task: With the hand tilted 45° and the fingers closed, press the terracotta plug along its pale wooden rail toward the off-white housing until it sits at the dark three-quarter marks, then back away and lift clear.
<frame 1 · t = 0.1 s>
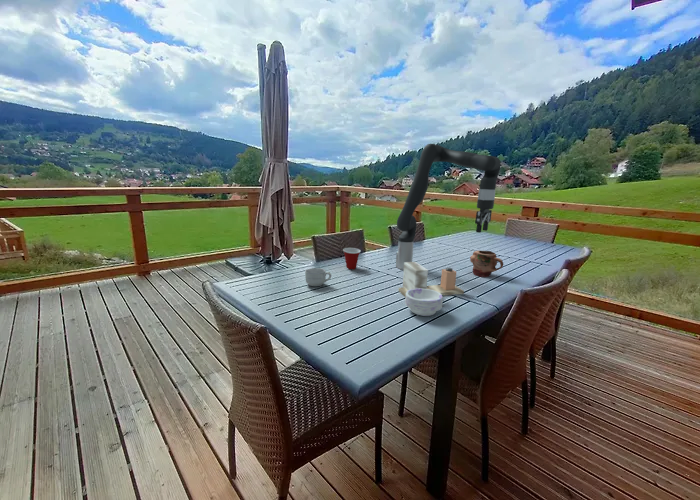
hand: (481, 231, 149), 29 cm above the table, tool pointing down, fingers open, 8 cm apart
white bowl: (422, 311, 126), on the table
plastic cup: (351, 268, 185), on the table
press housing: (430, 292, 147), on the table
brown ceramic mug: (484, 275, 174), on the table
teacup: (318, 285, 155), on the table
plug: (448, 278, 147), point 7 cm above the table, slide at 0.0 cm
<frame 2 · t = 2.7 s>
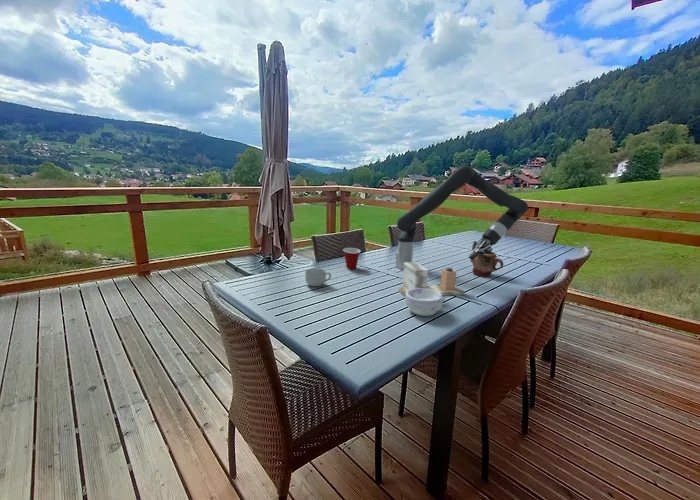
hand: (470, 258, 147), 16 cm above the table, tool tilted 45°, fingers closed
nothing on the table moved.
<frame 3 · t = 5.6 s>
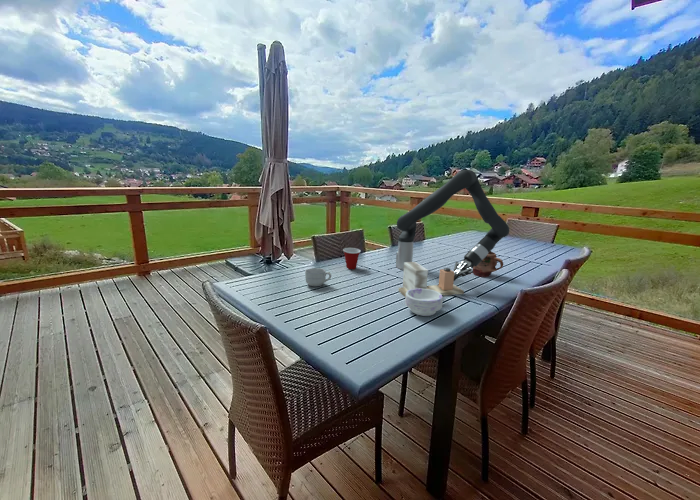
hand: (451, 279, 148), 6 cm above the table, tool tilted 45°, fingers closed
plug: (446, 278, 147), point 7 cm above the table, slide at 1.1 cm, touching gripper
everything else where it was.
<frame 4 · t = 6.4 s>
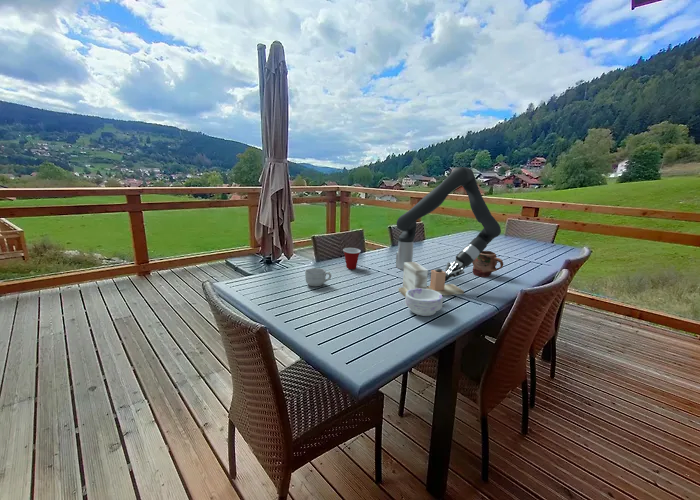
hand: (443, 280, 147), 6 cm above the table, tool tilted 45°, fingers closed
plug: (437, 279, 146), point 7 cm above the table, slide at 5.7 cm, touching gripper
everything else where it was.
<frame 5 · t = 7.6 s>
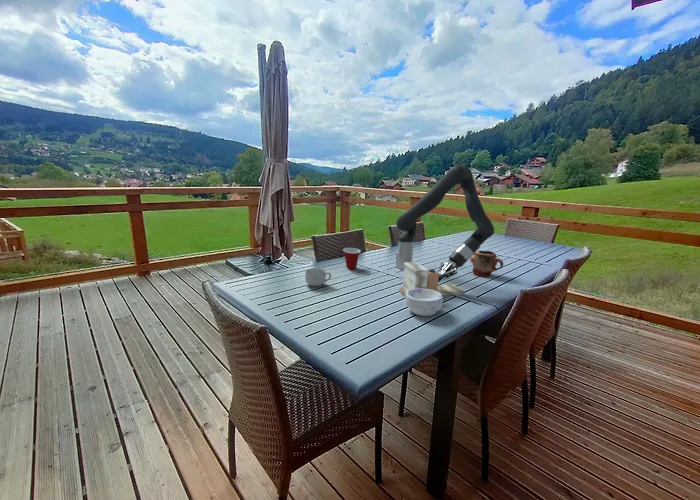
hand: (436, 280, 146), 6 cm above the table, tool tilted 45°, fingers closed
plug: (431, 279, 146), point 7 cm above the table, slide at 9.4 cm, touching gripper
everything else where it was.
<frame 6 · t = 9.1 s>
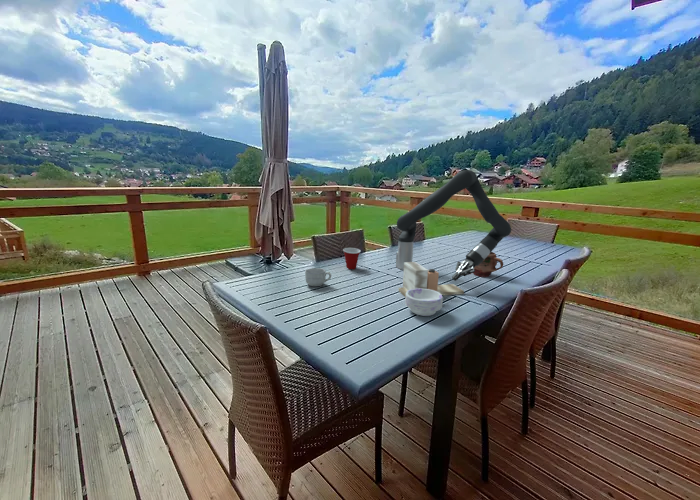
hand: (453, 279, 148), 6 cm above the table, tool tilted 45°, fingers closed
plug: (430, 279, 146), point 7 cm above the table, slide at 9.4 cm
everything else where it was.
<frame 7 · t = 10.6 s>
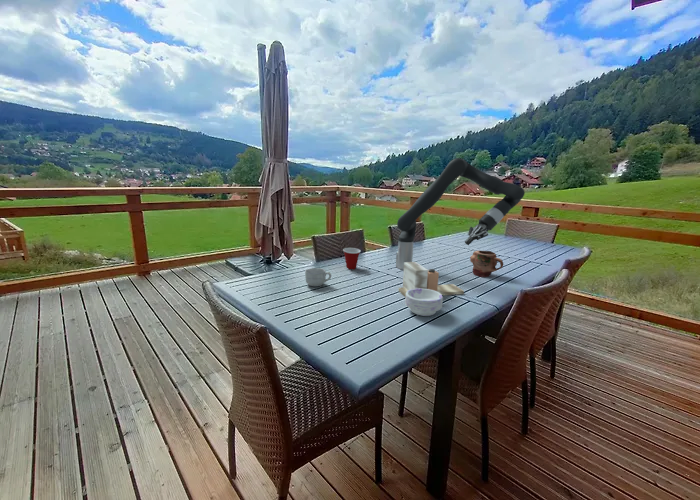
hand: (466, 243, 148), 23 cm above the table, tool tilted 45°, fingers closed
nothing on the table moved.
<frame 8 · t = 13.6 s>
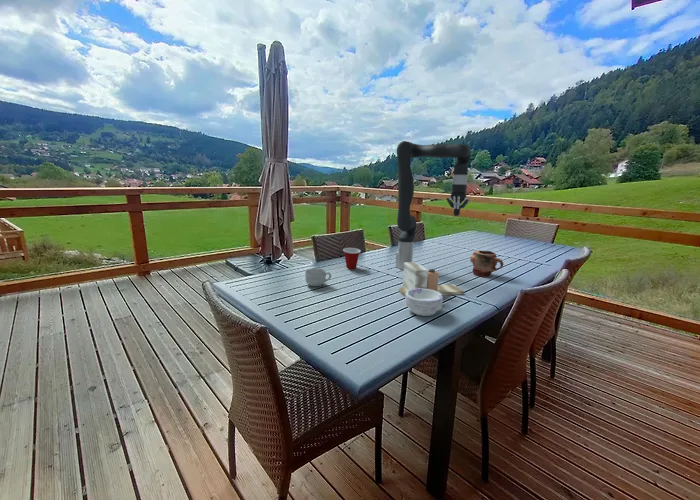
hand: (456, 215, 164), 35 cm above the table, tool pointing down, fingers closed
nothing on the table moved.
at the end: plug slide at 9.4 cm; white bowl moved 0.3 cm from its start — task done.
